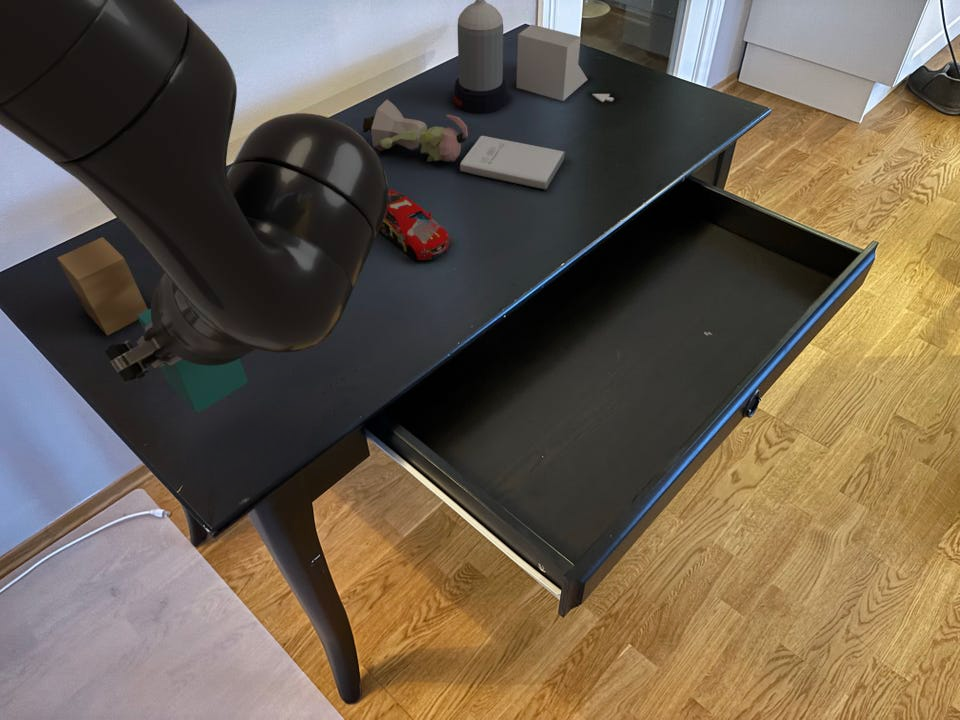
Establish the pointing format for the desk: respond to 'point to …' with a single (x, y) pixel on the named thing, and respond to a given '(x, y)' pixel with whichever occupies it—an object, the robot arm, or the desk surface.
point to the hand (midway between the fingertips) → (183, 338)
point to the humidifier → (480, 60)
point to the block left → (103, 285)
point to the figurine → (414, 134)
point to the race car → (413, 228)
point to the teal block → (200, 377)
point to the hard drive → (513, 162)
